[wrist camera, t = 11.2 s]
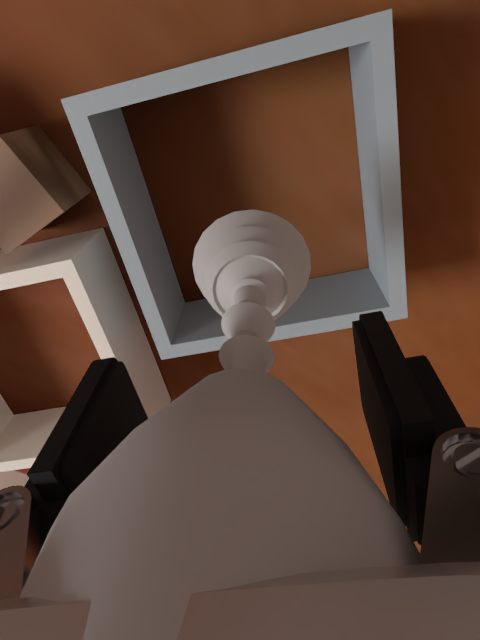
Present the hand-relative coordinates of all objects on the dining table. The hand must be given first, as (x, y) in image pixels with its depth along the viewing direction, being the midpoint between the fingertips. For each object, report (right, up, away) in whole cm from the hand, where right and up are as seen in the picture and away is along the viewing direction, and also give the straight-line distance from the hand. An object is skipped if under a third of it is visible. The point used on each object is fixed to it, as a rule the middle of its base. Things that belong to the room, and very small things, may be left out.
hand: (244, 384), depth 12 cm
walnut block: (-14, +11, +18) cm, 25 cm away
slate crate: (+1, +10, +18) cm, 20 cm away
